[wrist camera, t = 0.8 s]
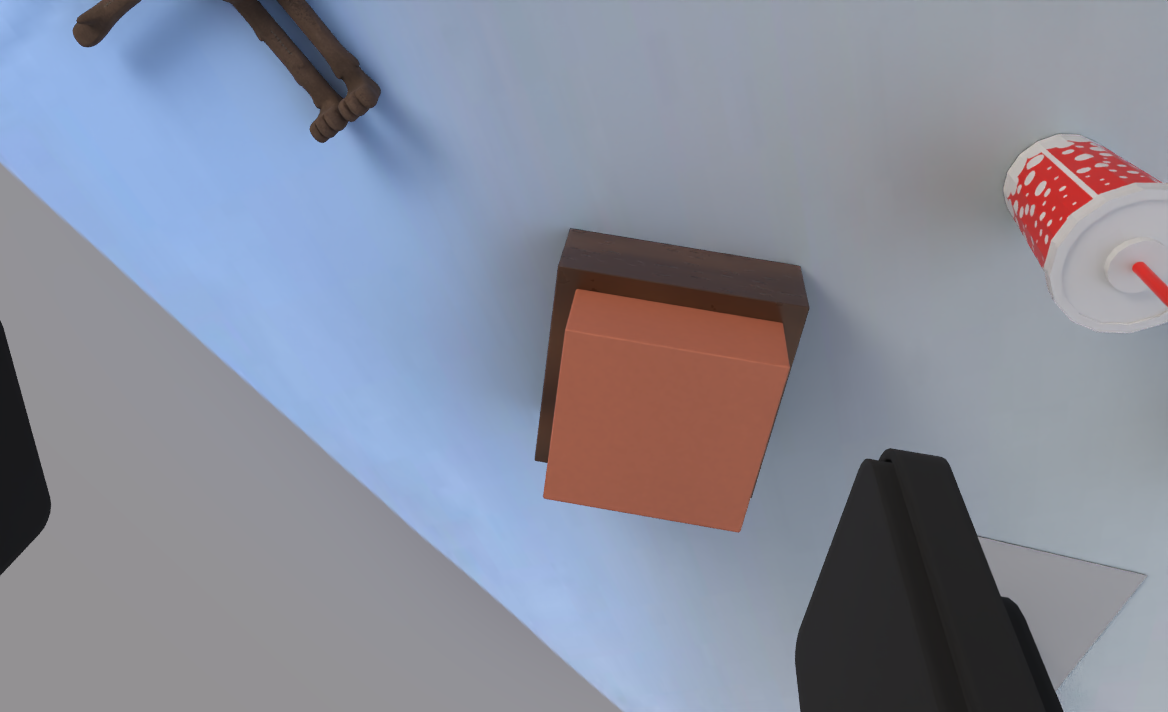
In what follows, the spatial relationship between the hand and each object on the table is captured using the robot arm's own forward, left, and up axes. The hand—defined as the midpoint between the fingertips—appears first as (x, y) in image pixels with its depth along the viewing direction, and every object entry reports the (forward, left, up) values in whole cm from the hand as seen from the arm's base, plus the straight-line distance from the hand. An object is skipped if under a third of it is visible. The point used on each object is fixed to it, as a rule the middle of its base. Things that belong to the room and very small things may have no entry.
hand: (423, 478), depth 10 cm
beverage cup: (+2, +22, -34) cm, 40 cm away
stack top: (+17, +8, -29) cm, 35 cm away
